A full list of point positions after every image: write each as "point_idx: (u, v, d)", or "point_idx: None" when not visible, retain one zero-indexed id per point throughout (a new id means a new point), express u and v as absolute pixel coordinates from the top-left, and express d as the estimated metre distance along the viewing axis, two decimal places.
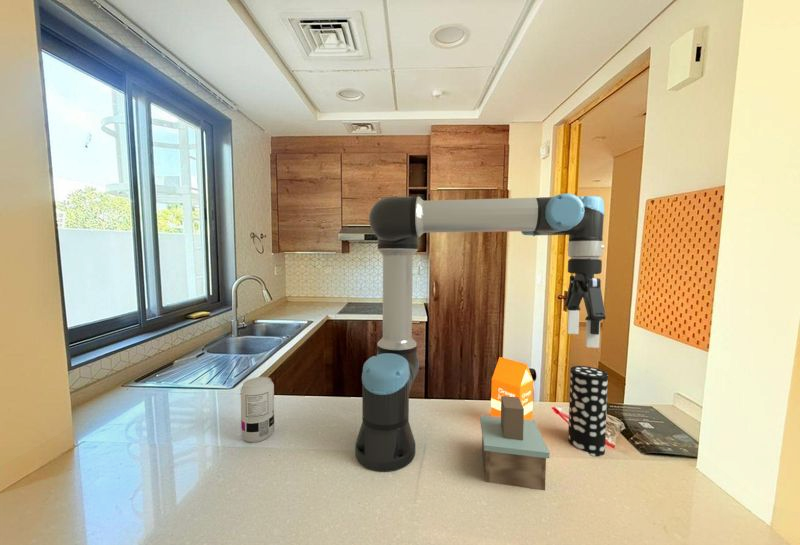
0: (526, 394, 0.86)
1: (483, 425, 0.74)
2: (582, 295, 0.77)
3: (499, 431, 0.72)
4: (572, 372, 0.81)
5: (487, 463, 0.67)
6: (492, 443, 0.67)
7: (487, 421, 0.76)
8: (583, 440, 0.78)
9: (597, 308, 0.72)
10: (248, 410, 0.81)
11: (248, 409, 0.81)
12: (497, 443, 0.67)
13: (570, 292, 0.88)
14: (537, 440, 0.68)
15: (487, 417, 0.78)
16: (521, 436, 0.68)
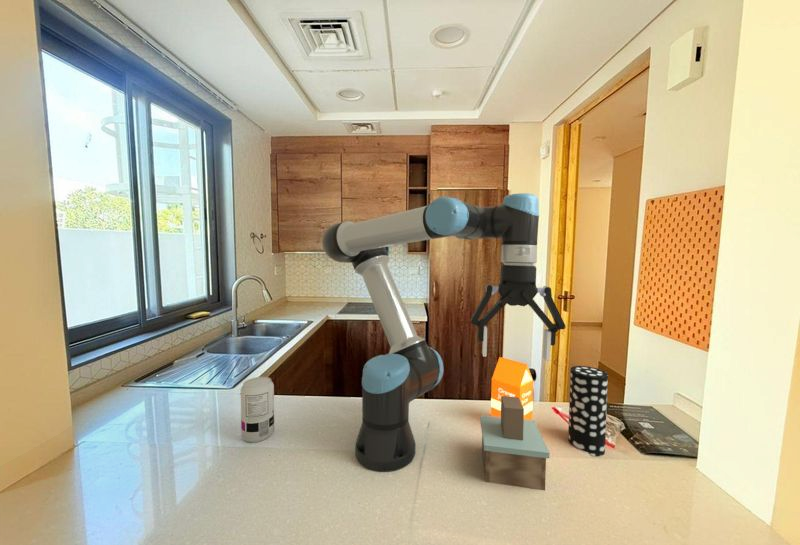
0: (526, 394, 0.86)
1: (483, 425, 0.74)
2: None
3: (499, 431, 0.72)
4: (572, 372, 0.81)
5: (487, 463, 0.67)
6: (492, 443, 0.67)
7: (487, 421, 0.76)
8: (583, 440, 0.78)
9: (474, 313, 0.73)
10: (248, 410, 0.81)
11: (248, 409, 0.81)
12: (497, 443, 0.67)
13: (548, 307, 0.71)
14: (537, 440, 0.68)
15: (487, 417, 0.78)
16: (521, 436, 0.68)
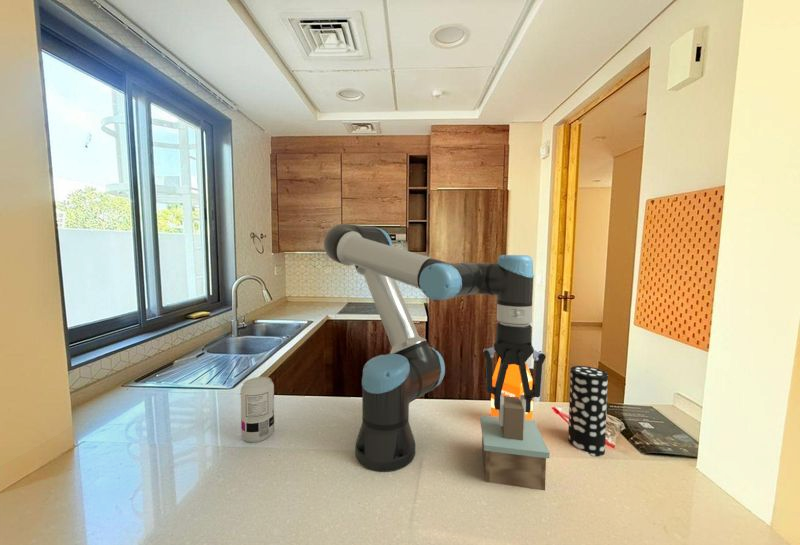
0: None
1: (483, 425, 0.74)
2: None
3: (499, 431, 0.72)
4: (572, 372, 0.81)
5: (487, 463, 0.67)
6: (492, 443, 0.67)
7: (487, 421, 0.76)
8: (583, 440, 0.78)
9: (486, 380, 0.72)
10: (248, 410, 0.81)
11: (248, 409, 0.81)
12: (497, 443, 0.67)
13: (533, 371, 0.71)
14: (537, 440, 0.68)
15: (487, 417, 0.78)
16: (521, 436, 0.68)
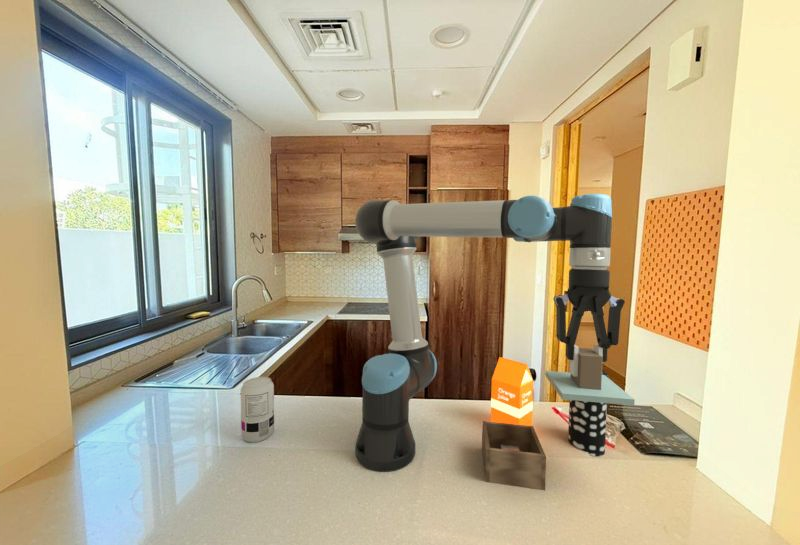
0: (526, 394, 0.86)
1: (552, 378, 0.71)
2: None
3: (572, 383, 0.68)
4: None
5: (487, 463, 0.67)
6: (570, 392, 0.64)
7: (555, 375, 0.73)
8: (583, 440, 0.78)
9: (558, 330, 0.69)
10: (248, 410, 0.81)
11: (248, 409, 0.81)
12: (575, 392, 0.64)
13: (609, 319, 0.68)
14: (616, 390, 0.65)
15: (554, 372, 0.75)
16: (599, 385, 0.65)
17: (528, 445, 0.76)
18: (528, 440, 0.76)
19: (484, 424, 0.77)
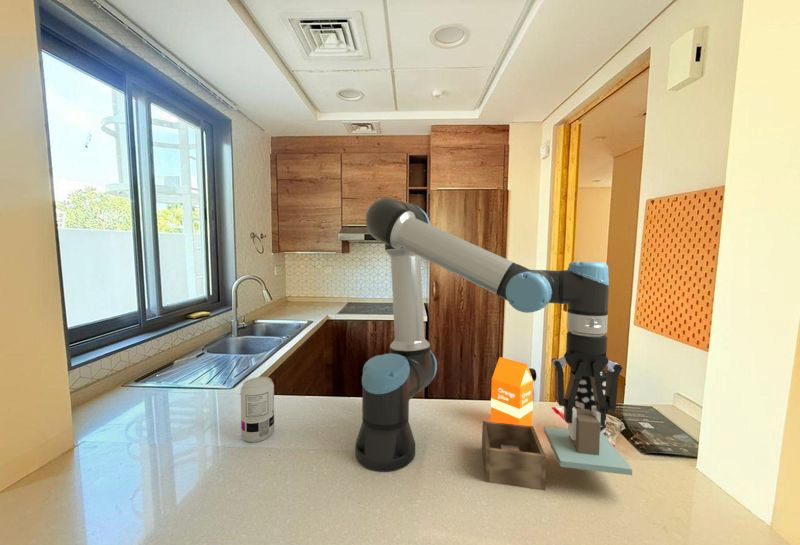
0: (526, 394, 0.86)
1: (551, 438, 0.71)
2: None
3: (571, 445, 0.69)
4: None
5: (487, 463, 0.67)
6: (568, 458, 0.64)
7: (554, 434, 0.73)
8: None
9: (556, 392, 0.70)
10: (248, 410, 0.81)
11: (248, 409, 0.81)
12: (573, 458, 0.64)
13: (606, 382, 0.68)
14: (614, 455, 0.65)
15: (552, 430, 0.75)
16: (597, 451, 0.65)
17: (528, 445, 0.76)
18: (528, 440, 0.76)
19: (484, 424, 0.77)
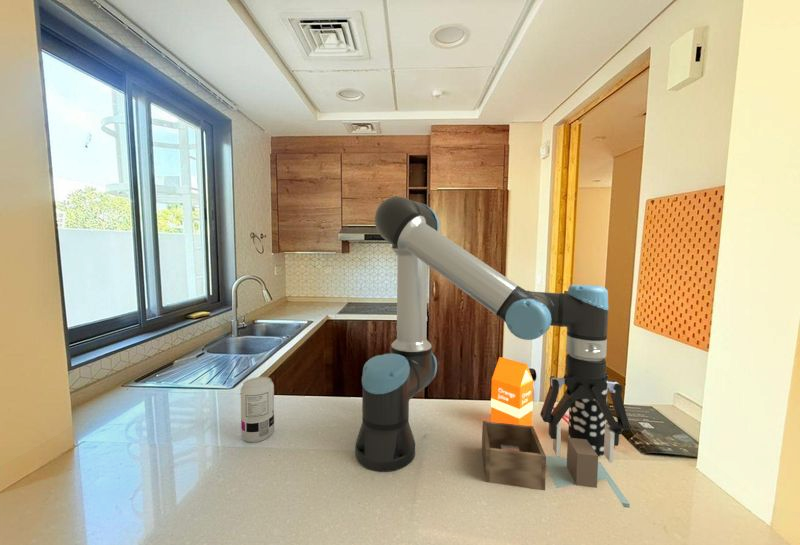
0: (526, 394, 0.86)
1: (549, 468, 0.72)
2: None
3: (569, 476, 0.69)
4: None
5: (487, 463, 0.67)
6: None
7: (552, 463, 0.74)
8: None
9: (544, 408, 0.70)
10: (248, 410, 0.81)
11: (248, 409, 0.81)
12: None
13: (613, 403, 0.68)
14: (611, 487, 0.66)
15: (550, 458, 0.75)
16: (595, 483, 0.66)
17: (528, 445, 0.76)
18: (528, 440, 0.76)
19: (484, 424, 0.77)
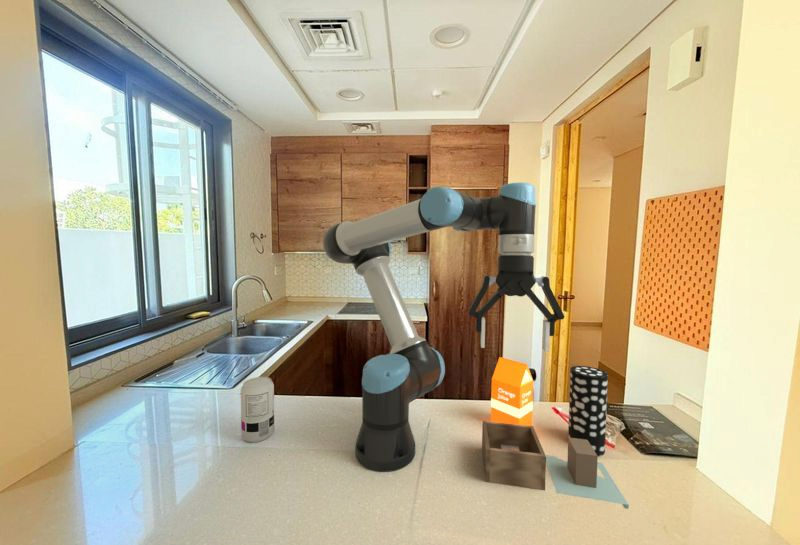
0: (526, 394, 0.86)
1: (549, 467, 0.72)
2: None
3: (569, 475, 0.69)
4: (572, 372, 0.81)
5: (487, 463, 0.67)
6: (565, 491, 0.65)
7: (552, 462, 0.74)
8: None
9: (472, 304, 0.72)
10: (248, 410, 0.81)
11: (248, 409, 0.81)
12: (570, 491, 0.65)
13: (546, 297, 0.70)
14: (611, 488, 0.66)
15: (551, 458, 0.76)
16: (594, 483, 0.66)
17: (528, 445, 0.76)
18: (528, 440, 0.76)
19: (484, 424, 0.77)
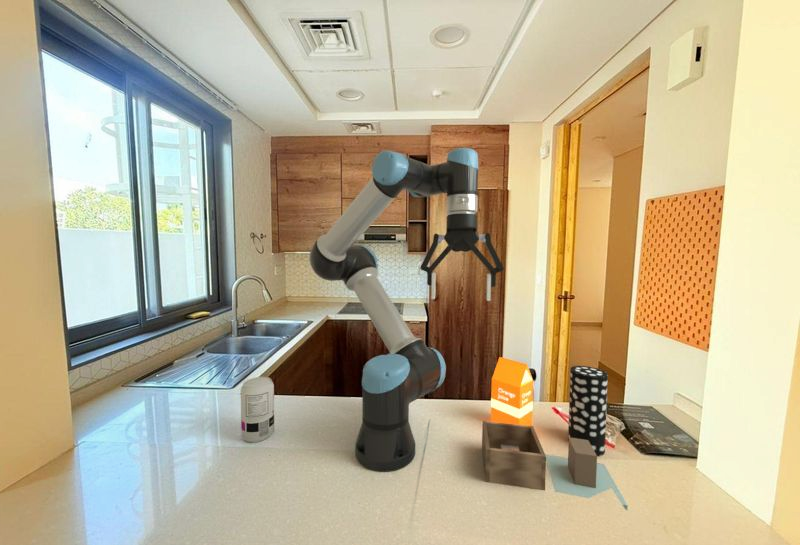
0: (526, 394, 0.86)
1: (549, 467, 0.72)
2: None
3: (568, 475, 0.70)
4: (572, 372, 0.81)
5: (487, 463, 0.67)
6: (563, 490, 0.65)
7: (553, 462, 0.74)
8: None
9: None
10: (248, 410, 0.81)
11: (248, 409, 0.81)
12: (568, 490, 0.65)
13: None
14: None
15: (552, 457, 0.76)
16: (594, 484, 0.66)
17: (528, 445, 0.76)
18: (528, 440, 0.76)
19: (484, 424, 0.77)
